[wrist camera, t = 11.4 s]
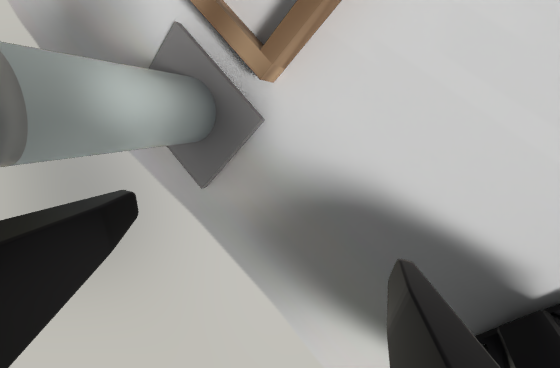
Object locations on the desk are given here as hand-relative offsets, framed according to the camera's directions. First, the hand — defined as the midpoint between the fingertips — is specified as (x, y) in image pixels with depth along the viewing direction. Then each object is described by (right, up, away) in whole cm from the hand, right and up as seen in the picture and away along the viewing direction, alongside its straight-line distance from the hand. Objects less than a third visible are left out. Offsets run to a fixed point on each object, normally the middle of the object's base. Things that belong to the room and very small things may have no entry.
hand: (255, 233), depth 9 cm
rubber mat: (-6, +8, +13) cm, 17 cm away
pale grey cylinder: (-6, +7, +13) cm, 16 cm away
